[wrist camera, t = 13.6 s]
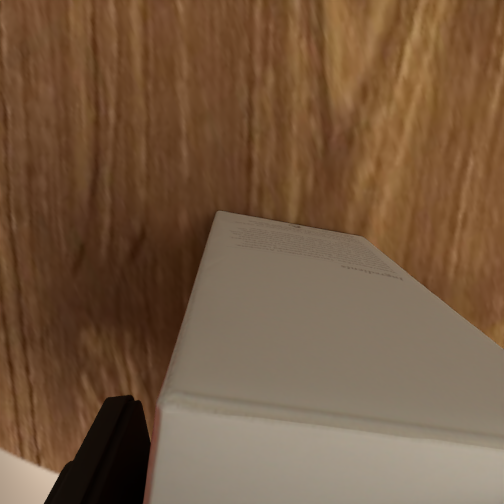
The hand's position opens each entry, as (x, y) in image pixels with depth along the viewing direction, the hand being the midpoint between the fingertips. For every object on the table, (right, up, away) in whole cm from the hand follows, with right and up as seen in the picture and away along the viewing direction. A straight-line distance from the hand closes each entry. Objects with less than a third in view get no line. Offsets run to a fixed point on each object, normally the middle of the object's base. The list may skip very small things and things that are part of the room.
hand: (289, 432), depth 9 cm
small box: (0, +2, +6) cm, 6 cm away
